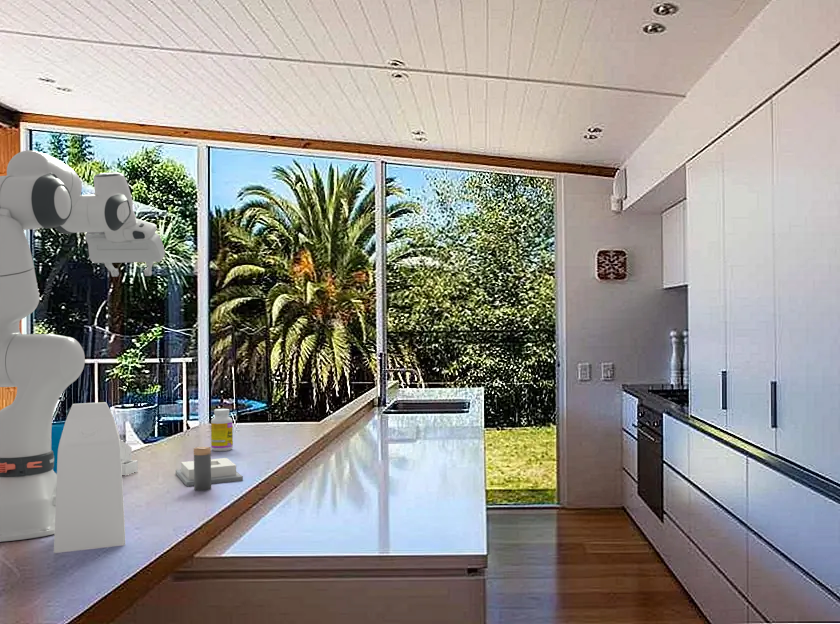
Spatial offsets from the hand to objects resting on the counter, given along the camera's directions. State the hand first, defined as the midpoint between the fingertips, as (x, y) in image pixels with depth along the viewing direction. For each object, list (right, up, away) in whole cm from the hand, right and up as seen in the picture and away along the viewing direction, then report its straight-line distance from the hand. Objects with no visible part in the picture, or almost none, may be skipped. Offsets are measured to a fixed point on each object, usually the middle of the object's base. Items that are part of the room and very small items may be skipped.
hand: (132, 275), depth 217 cm
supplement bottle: (+18, -54, +29) cm, 64 cm away
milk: (+19, -54, -71) cm, 91 cm away
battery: (+28, -54, -27) cm, 66 cm away
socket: (+25, -54, -13) cm, 61 cm away
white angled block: (+1, -55, -7) cm, 55 cm away
